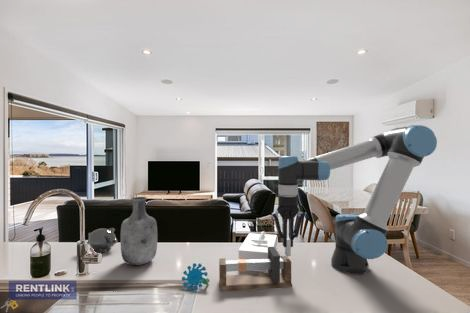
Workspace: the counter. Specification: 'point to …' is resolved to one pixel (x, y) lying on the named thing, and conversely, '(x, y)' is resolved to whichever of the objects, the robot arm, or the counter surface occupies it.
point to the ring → (274, 264)
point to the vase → (138, 235)
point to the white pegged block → (257, 246)
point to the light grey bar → (251, 264)
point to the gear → (195, 277)
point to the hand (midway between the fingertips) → (287, 254)
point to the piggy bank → (102, 239)
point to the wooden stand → (253, 278)
